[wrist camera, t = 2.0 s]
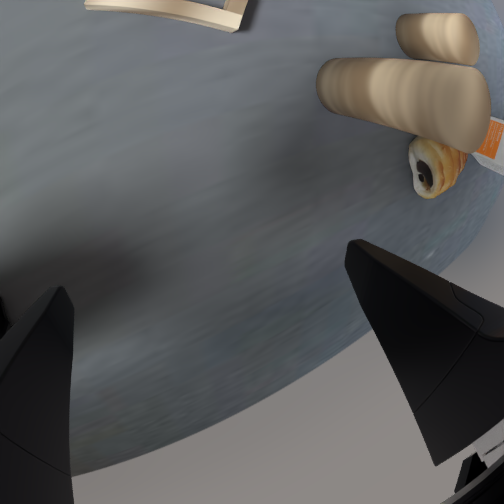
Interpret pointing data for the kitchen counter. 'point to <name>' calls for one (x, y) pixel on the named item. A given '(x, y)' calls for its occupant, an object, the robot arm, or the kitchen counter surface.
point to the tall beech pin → (410, 97)
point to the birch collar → (179, 11)
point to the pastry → (434, 166)
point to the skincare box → (492, 147)
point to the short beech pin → (438, 37)
